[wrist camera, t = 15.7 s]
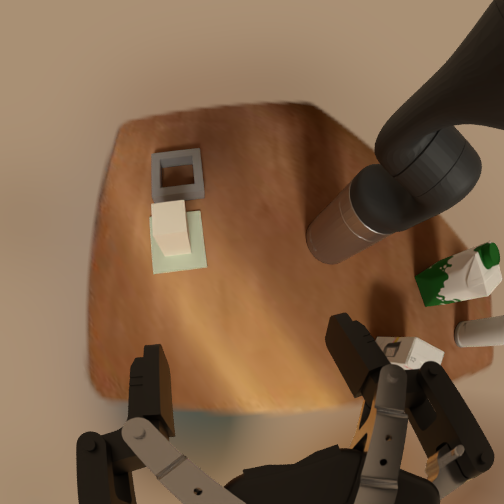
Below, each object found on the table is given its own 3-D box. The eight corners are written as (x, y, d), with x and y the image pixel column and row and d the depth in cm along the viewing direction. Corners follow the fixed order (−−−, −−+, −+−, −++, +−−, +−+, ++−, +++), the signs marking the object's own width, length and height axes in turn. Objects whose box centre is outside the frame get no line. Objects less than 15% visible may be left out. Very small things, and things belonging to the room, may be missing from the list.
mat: (200, 211, 48) (200, 210, 48) (207, 267, 46) (207, 266, 46) (149, 217, 47) (149, 217, 46) (153, 274, 44) (153, 273, 44)
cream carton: (188, 227, 47) (184, 199, 36) (191, 253, 46) (186, 231, 35) (162, 231, 46) (151, 203, 35) (164, 256, 45) (152, 235, 34)
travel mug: (452, 323, 51) (519, 314, 32) (467, 319, 52) (530, 309, 33) (453, 349, 49) (520, 346, 30) (468, 344, 50) (530, 338, 31)
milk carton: (433, 260, 54) (498, 233, 35) (445, 296, 52) (512, 279, 33) (410, 274, 52) (481, 248, 33) (423, 313, 50) (496, 300, 31)
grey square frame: (199, 157, 51) (199, 148, 48) (204, 198, 49) (204, 190, 46) (153, 162, 49) (151, 153, 47) (154, 204, 47) (151, 196, 44)
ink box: (406, 349, 47) (446, 350, 36) (397, 373, 46) (437, 378, 35) (375, 335, 47) (415, 334, 36) (366, 360, 46) (405, 365, 35)
